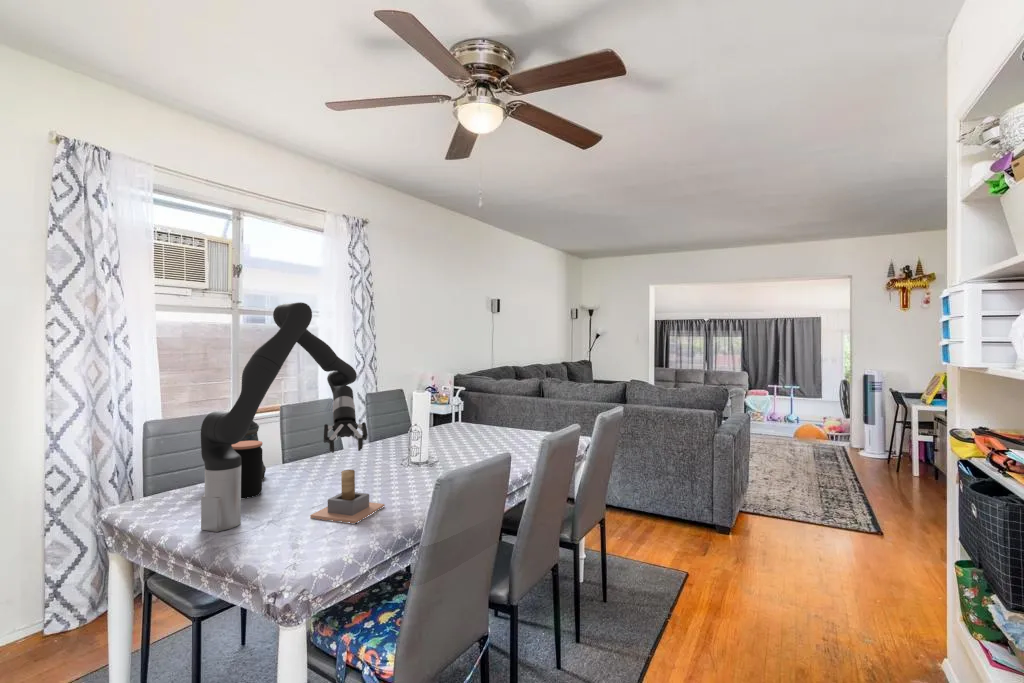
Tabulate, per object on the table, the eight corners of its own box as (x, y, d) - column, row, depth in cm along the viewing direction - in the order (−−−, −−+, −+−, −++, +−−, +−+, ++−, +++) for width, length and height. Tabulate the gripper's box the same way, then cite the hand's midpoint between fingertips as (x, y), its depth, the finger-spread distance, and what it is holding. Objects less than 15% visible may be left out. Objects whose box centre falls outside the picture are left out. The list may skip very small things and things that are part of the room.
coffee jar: (268, 490, 177) (268, 440, 177) (249, 500, 167) (250, 447, 167) (240, 489, 178) (241, 440, 178) (220, 498, 168) (220, 446, 168)
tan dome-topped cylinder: (350, 511, 153) (349, 473, 153) (339, 510, 154) (338, 472, 154) (357, 507, 157) (357, 470, 157) (346, 506, 158) (346, 469, 158)
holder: (355, 524, 146) (355, 507, 146) (310, 518, 150) (310, 501, 150) (384, 507, 161) (384, 491, 161) (342, 502, 166) (342, 487, 166)
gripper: (323, 406, 171) (324, 445, 160) (365, 404, 176) (369, 442, 166) (322, 419, 176) (323, 458, 165) (363, 417, 181) (367, 455, 171)
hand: (346, 450), depth 166 cm, fingers open, 8 cm apart
